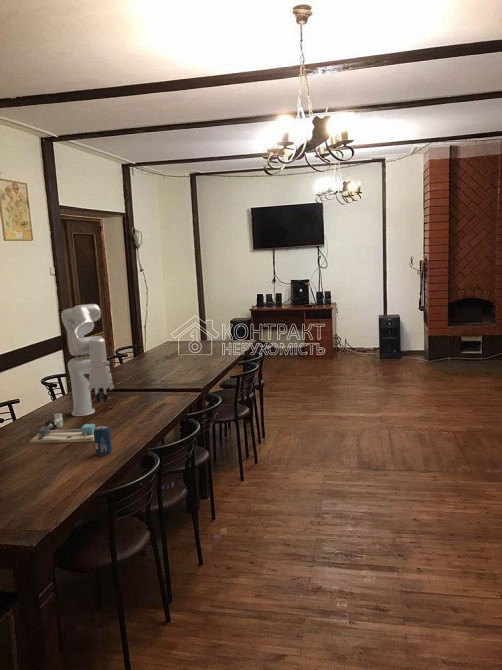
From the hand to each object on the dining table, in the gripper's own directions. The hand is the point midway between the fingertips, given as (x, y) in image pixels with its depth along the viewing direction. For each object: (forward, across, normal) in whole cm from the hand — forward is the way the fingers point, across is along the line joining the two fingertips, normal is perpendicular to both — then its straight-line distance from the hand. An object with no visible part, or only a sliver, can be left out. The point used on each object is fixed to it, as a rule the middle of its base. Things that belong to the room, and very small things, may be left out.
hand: (102, 401), depth 258 cm
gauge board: (+17, +19, +2) cm, 26 cm away
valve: (+17, +30, -14) cm, 37 cm away
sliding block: (+15, +8, +1) cm, 17 cm away
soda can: (+17, -6, +24) cm, 30 cm away
